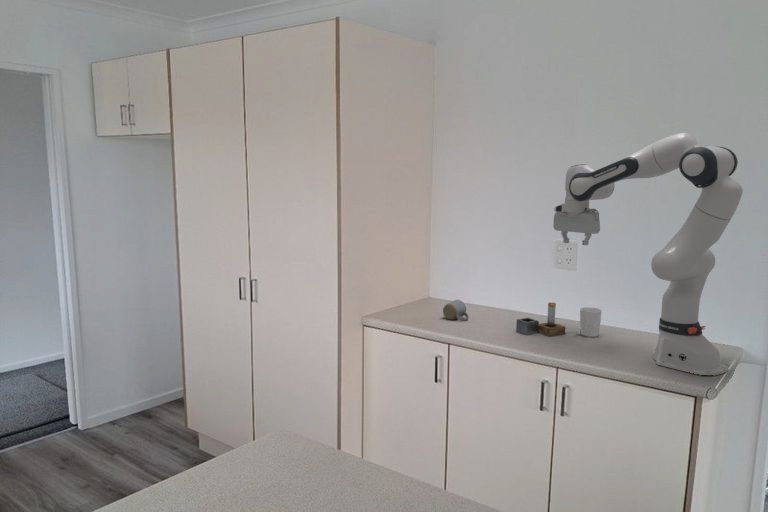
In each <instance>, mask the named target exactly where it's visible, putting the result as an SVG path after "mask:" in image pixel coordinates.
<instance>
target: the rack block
mask: <svg viewBox="0 0 768 512" xmlns="http://www.w3.org/2000/svg"><path fill="white" fill-rule="evenodd" d="M566 328H567V327H566V325H562V324H558V323H555V327H548V326H547V322H543V323H539V326H538V333H537V334H541V335H543V336H547V337H550V338H551V337H556V336H562V335H566Z"/></svg>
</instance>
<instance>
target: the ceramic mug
mask: <svg viewBox="0 0 768 512" xmlns="http://www.w3.org/2000/svg"><path fill="white" fill-rule="evenodd" d="M442 309H443V310H442V313H443V316H444V317H445V318H446V319H447V320H452V321H453V320H456V319H457V320H458V321H461V322H467V321H468V320H469V318H470V315H469V314H468V313H467V307H466V304H465V303H464V302H463V301H462V300H461V299H454V300H452V301H450V302H448V303H446V304H445V305H444V306H443V308H442Z"/></svg>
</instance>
